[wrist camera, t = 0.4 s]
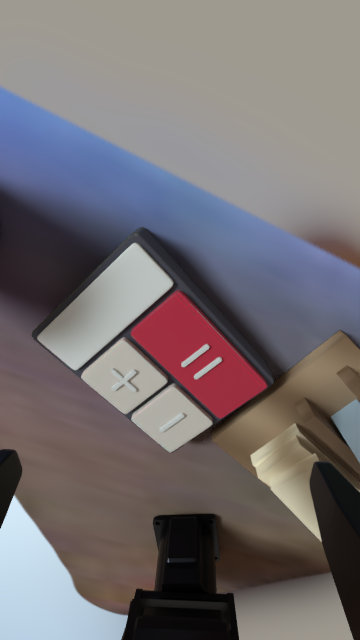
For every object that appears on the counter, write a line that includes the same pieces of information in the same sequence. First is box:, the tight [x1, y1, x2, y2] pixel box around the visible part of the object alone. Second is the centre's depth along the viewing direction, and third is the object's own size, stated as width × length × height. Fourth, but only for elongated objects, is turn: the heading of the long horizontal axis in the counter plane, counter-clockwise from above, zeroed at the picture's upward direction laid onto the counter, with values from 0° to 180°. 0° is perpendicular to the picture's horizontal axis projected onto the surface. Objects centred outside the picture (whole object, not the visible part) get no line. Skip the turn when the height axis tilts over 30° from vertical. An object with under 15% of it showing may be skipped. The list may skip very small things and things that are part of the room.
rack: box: [212, 330, 360, 489], centre depth 26 cm, size 14×16×4 cm
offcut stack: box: [250, 423, 360, 541], centre depth 26 cm, size 5×9×3 cm, turn 46°
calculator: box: [32, 227, 274, 452], centre depth 24 cm, size 11×4×15 cm
